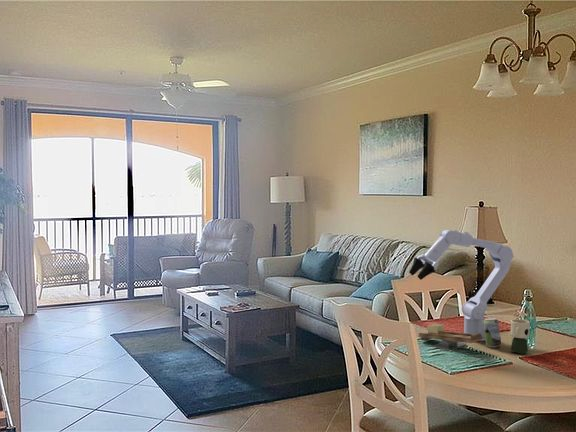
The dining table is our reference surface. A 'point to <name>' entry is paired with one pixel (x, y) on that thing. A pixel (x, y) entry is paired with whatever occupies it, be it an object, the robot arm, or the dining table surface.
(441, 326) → the brass block
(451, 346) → the pivot stand
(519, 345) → the character mug
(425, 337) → the beam
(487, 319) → the beverage can
